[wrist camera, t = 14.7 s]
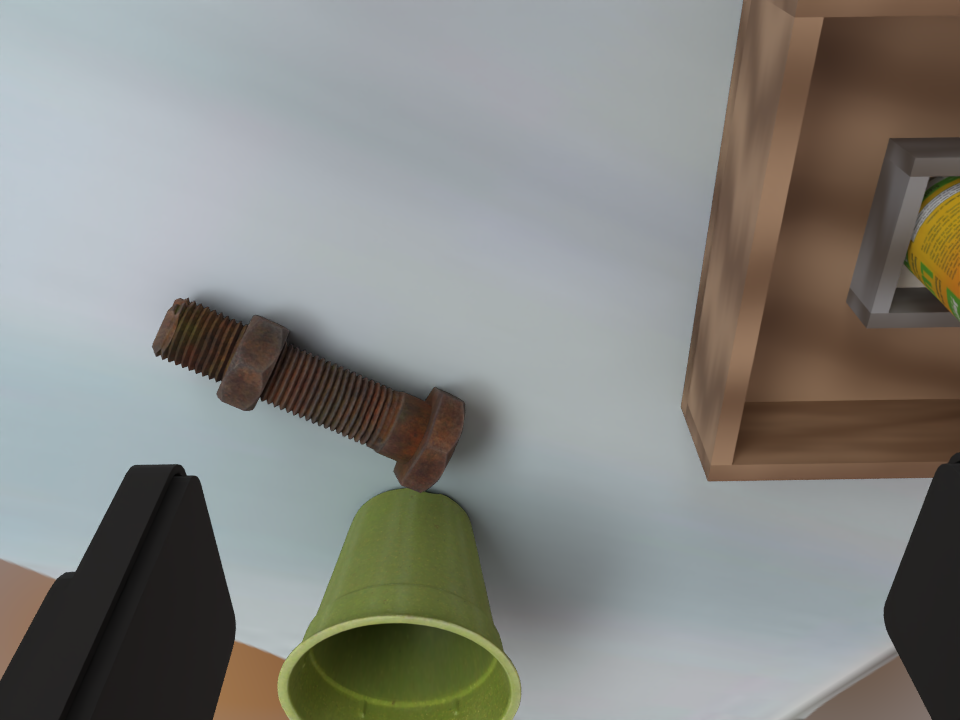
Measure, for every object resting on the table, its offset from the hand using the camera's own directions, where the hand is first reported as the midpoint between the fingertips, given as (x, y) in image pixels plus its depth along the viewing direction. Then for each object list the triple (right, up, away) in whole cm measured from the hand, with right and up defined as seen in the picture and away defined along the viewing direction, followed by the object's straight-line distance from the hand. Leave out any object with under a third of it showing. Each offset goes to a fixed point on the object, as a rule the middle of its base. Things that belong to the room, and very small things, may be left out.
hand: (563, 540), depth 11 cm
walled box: (+21, +9, +28) cm, 36 cm away
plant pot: (-5, -8, +39) cm, 40 cm away
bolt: (-10, +2, +33) cm, 34 cm away
